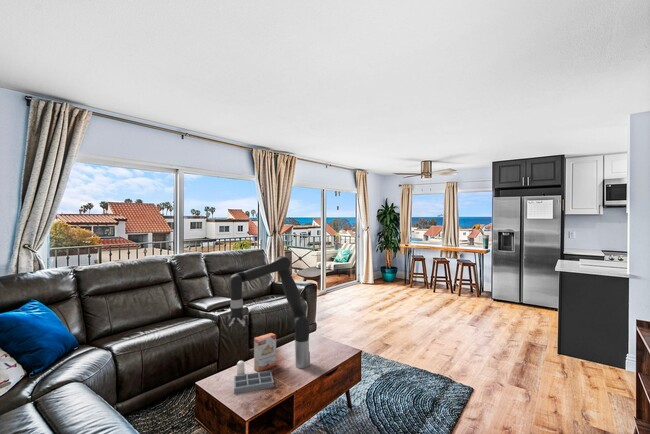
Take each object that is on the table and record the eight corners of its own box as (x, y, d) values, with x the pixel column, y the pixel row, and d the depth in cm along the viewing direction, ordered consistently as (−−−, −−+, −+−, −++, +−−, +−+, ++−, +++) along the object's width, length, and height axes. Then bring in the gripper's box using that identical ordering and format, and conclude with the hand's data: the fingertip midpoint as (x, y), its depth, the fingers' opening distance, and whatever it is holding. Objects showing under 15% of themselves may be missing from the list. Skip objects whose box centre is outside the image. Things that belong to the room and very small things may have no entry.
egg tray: (270, 374, 201) (270, 370, 201) (273, 386, 187) (273, 382, 187) (234, 380, 195) (234, 376, 195) (234, 393, 180) (234, 388, 180)
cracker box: (258, 372, 204) (258, 340, 205) (253, 369, 209) (253, 337, 209) (276, 365, 214) (276, 334, 214) (271, 362, 219) (271, 332, 219)
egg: (244, 371, 206) (244, 358, 206) (244, 375, 202) (244, 362, 202) (237, 372, 205) (236, 360, 205) (237, 376, 200) (236, 363, 200)
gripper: (249, 304, 204) (250, 329, 204) (228, 304, 205) (229, 329, 205) (245, 307, 196) (246, 334, 196) (223, 307, 198) (224, 334, 198)
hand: (237, 331), depth 201 cm, fingers open, 8 cm apart
